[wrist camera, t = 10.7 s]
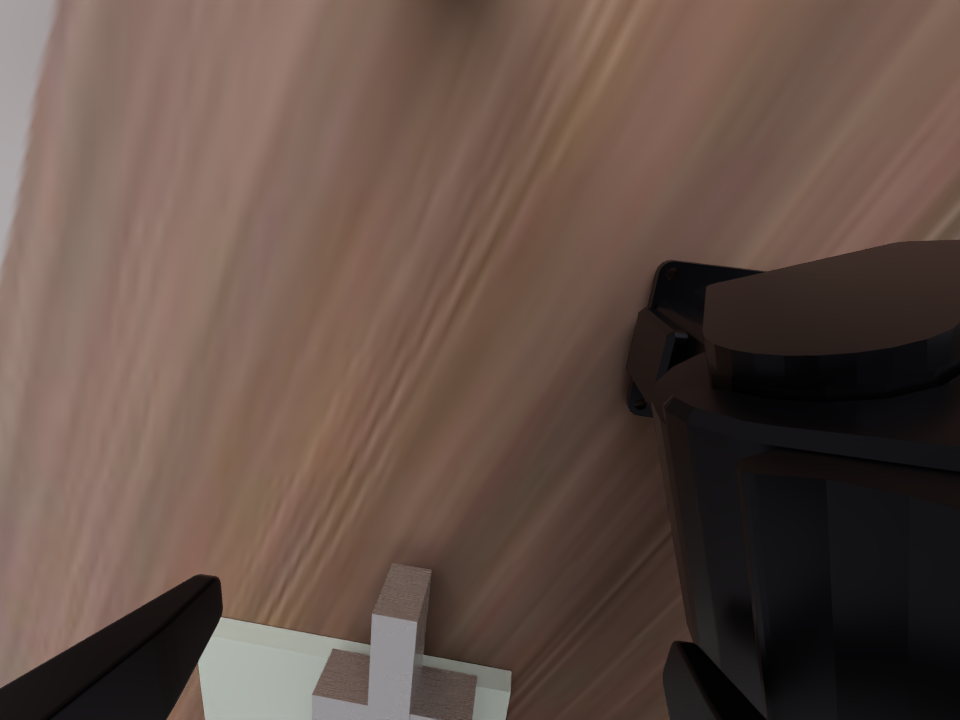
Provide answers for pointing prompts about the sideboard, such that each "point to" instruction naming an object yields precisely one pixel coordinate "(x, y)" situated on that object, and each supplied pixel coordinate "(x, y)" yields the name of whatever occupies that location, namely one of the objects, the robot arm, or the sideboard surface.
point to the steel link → (394, 664)
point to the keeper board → (301, 673)
